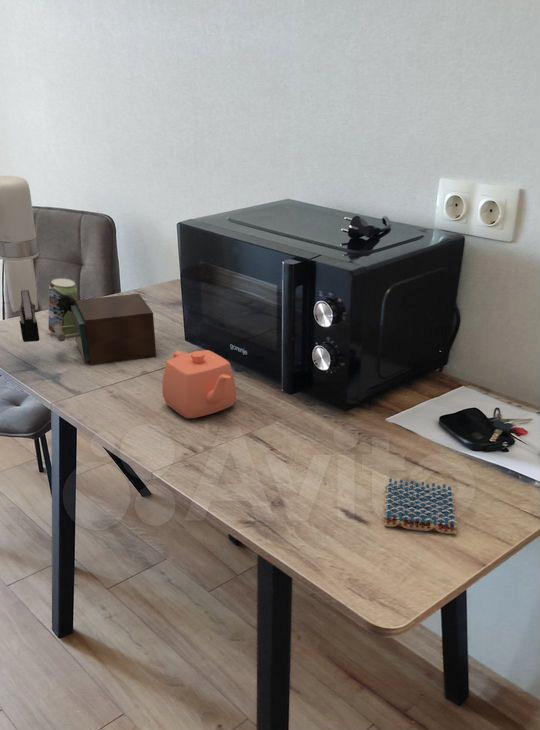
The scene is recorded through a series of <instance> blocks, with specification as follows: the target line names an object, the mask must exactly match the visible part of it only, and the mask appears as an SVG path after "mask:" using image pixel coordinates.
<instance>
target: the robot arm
mask: <svg viewBox="0 0 540 730" xmlns="http://www.w3.org/2000/svg"><path fill="white" fill-rule="evenodd" d="M34 216H35V215H34V210H33V202H32V195H31V189H30V184H29V183H28V181H27V180H26V178H24V177H21V176H17V175H0V260H3V269H4V275H5V280H6V286H7V293H8V299H9V304H10V308H11V311H12V312H13V313H15V314H16V313H17V312H19V313H18V314H19V318H20V320H19V327H20V332H21V339H22V341H23V343H31V342H39V341H40V333H39V326H38V320H37V318H36V311H38V310H39V300H38V299H39V298H38V288H37V280H36V279H37V278H36V271H35V265H34V259H35V258H38V257H39V255H40V253H39V247H38V239H37V232H36V225H35V224H36V223H35V217H34Z"/></svg>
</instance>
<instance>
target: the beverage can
mask: <svg viewBox="0 0 540 730" xmlns="http://www.w3.org/2000/svg"><path fill="white" fill-rule="evenodd" d="M78 291H79V290H78V287H77V285H76V282H75V281H74V280H72V279H69V278H63V277H60V278H59V277H57V278H53V279H51V283H50V284H49V286H48V330H49V331H50V332H52V334H53V335H56V333H55V331H54V325H56V324H59V325H61V327H62V326H68V325H73V319H72V312H71V306H74V305H76V300H78V297H79V295H78V294H79V293H78ZM63 332H64V334H65V335H67V334H75V333H74V328H73V329H65V330H63Z"/></svg>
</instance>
